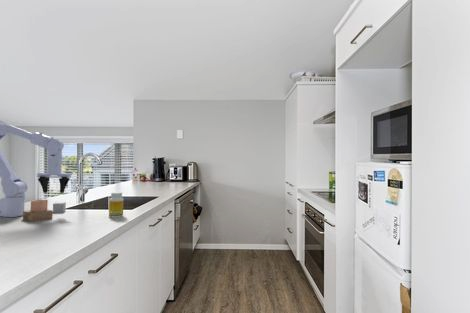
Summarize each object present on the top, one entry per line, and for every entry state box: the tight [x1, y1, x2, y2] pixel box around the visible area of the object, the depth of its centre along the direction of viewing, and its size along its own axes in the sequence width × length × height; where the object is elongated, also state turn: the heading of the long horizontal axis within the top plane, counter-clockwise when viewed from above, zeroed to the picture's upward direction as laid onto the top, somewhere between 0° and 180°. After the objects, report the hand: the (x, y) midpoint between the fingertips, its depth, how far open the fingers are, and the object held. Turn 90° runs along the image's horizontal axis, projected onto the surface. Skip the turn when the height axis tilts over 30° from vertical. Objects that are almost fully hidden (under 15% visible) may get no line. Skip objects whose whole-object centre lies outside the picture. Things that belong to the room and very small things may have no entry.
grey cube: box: [52, 201, 67, 214], centre depth 142 cm, size 4×4×4 cm
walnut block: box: [22, 208, 54, 223], centre depth 124 cm, size 8×8×4 cm
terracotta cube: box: [30, 199, 49, 212], centre depth 125 cm, size 4×4×4 cm
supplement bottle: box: [108, 191, 125, 219], centre depth 134 cm, size 6×6×11 cm
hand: (53, 192), depth 135 cm, fingers open, 7 cm apart
